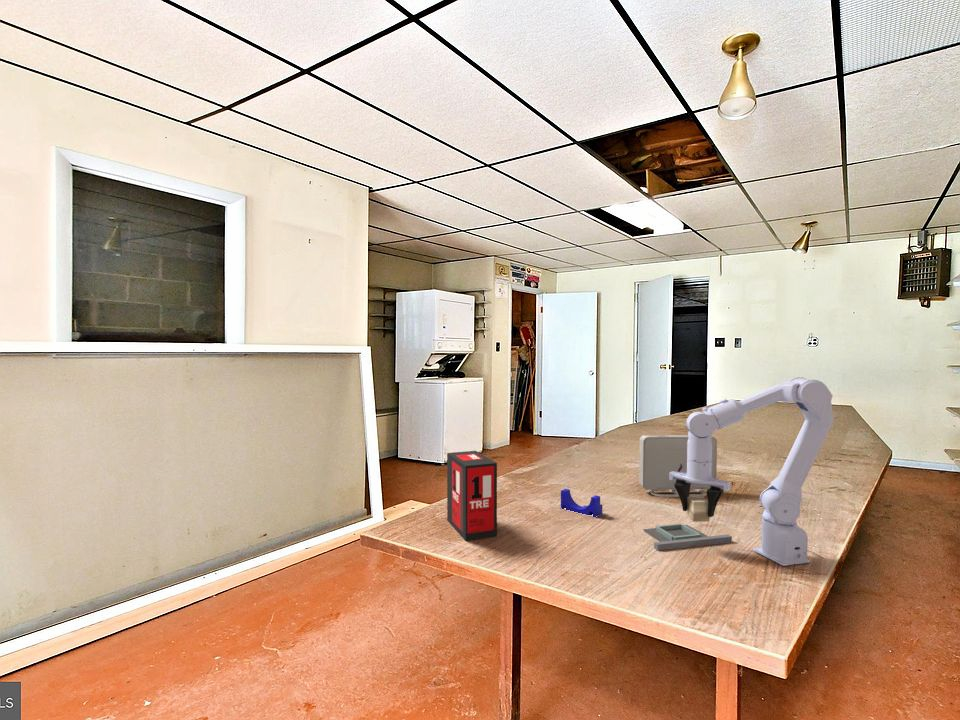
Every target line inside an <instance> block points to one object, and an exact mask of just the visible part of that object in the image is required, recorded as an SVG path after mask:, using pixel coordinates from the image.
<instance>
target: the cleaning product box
mask: <svg viewBox="0 0 960 720" xmlns="http://www.w3.org/2000/svg"><path fill="white" fill-rule="evenodd" d="M446 457H447V458H446V478H447V479H446V481H447V483H446V485H447V486H446V487H447V488H446V492H447V493H446V496H447V498H446V499H447V502H446V503H447V505H446V508H447V509H446V512H447V515H446V517H447V518H446V521H447V522H448V523H449V524H450V525H451V527H452V528H453V529H454V530H455V531H456V532H457V533H458V534H459V535H460V537H461V538H462V539H463V540H464V541H465V542H470V541H476V540H483V539H484V540H485V539H491V538H496V537H498V463H497V461H494V460H493V459H491V458H489V457H487V456H486V455H485V454H482V453H481V452H478V451H477V450H470V451H469V450H468V451H459V452H458V451H455V452H447V453H446Z"/></svg>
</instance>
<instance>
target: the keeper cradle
mask: <svg viewBox="0 0 960 720" xmlns="http://www.w3.org/2000/svg"><path fill="white" fill-rule="evenodd" d="M642 530H644V531H643V532H645V533H646V534H648V535H649V536H651V538H654V539H655V540H656V541H657V542H662V541H671V540H681V539H690V538H699V537H708V535H707V534H705V533H703V532H701V531H699V530H697V529H696V528H693V527H692V526H691V525H688V524H682V523H671V524H661V525H655V527H654V528H653V527H652V528H644V529H642Z"/></svg>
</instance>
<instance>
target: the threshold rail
mask: <svg viewBox="0 0 960 720" xmlns="http://www.w3.org/2000/svg"><path fill="white" fill-rule="evenodd" d="M707 536H708V535H707ZM732 537H733V536H731V535H730V534H719V535H710V536H708V537H699V538H690V539H681V540H671V541H662V542H660V541H655V542H654V544H653V548H654V549H655V550H656V551H658V552H659V551H665V550H674V549H683V548H684V549H685V548H691V547H692V548H693V547H701V546H711V545H718V544H726V543H728V544H729V543H732V542H733V541H732V540H733V539H732Z"/></svg>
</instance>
